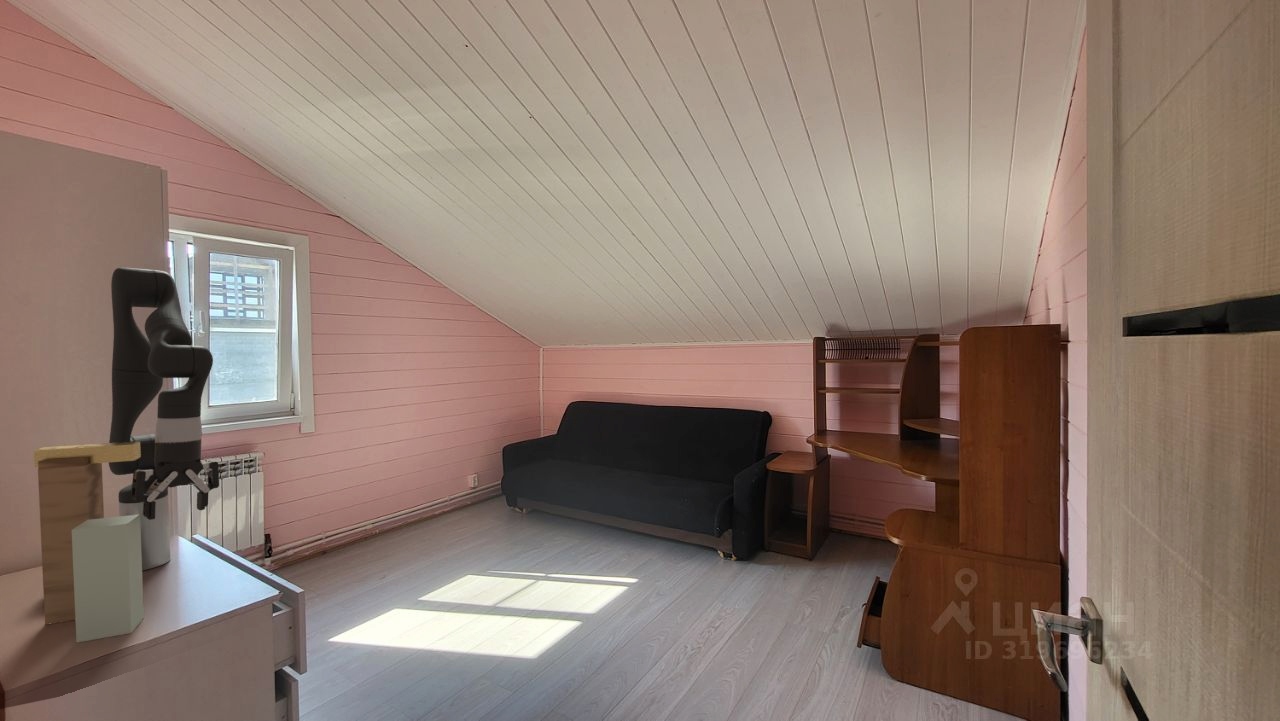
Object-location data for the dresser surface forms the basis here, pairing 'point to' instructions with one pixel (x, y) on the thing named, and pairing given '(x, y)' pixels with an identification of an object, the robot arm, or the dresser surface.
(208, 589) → the dresser surface
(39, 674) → the dresser surface
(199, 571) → the dresser surface
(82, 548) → the block
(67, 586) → the stand
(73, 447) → the rail
